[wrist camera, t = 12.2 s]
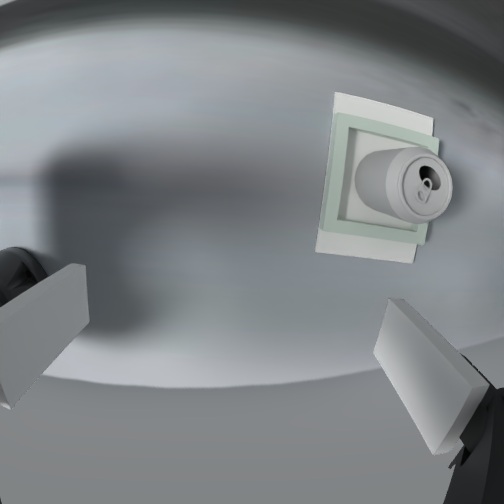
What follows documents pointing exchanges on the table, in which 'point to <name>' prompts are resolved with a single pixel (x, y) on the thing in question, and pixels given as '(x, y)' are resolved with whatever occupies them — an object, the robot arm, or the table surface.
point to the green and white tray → (343, 185)
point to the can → (405, 183)
